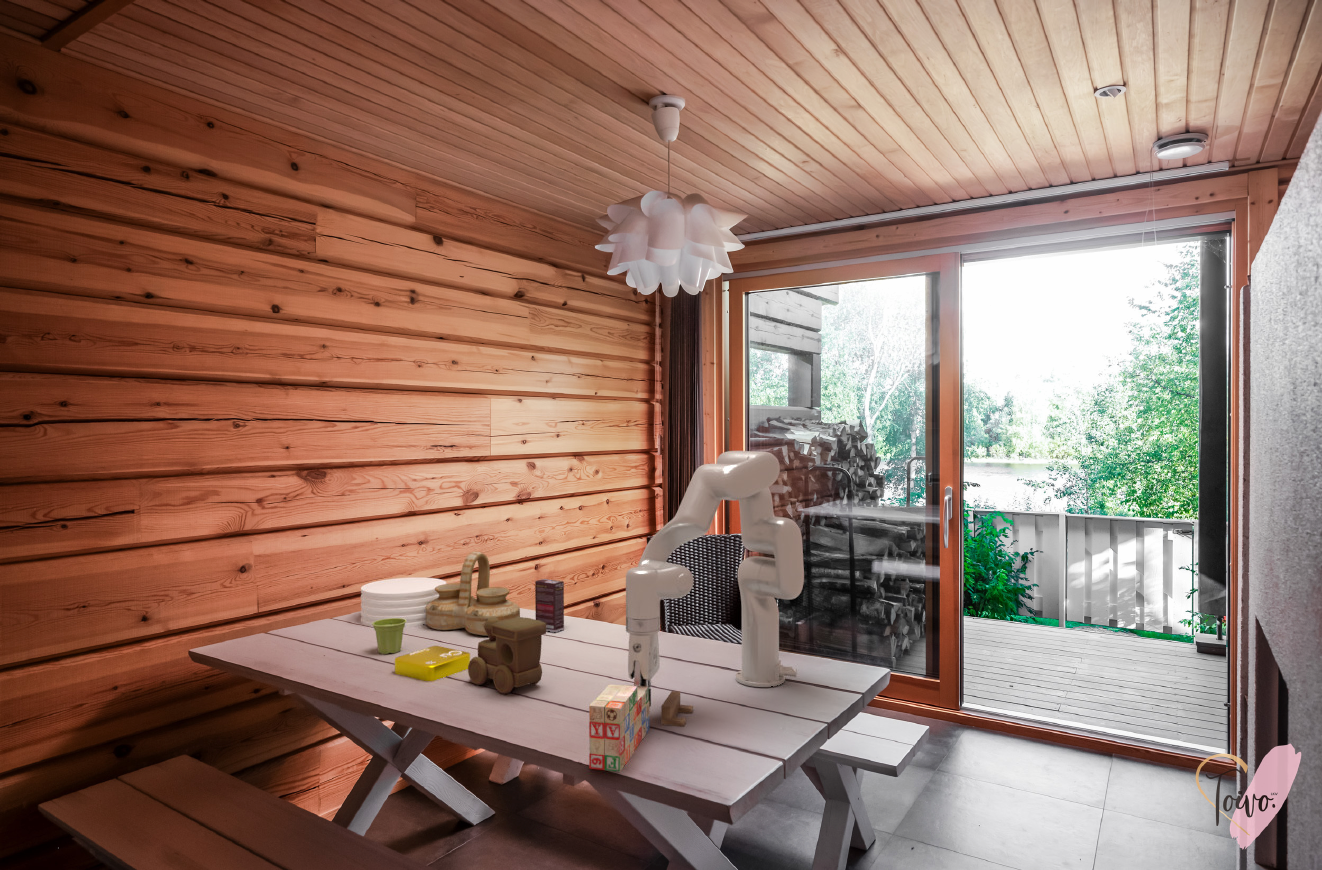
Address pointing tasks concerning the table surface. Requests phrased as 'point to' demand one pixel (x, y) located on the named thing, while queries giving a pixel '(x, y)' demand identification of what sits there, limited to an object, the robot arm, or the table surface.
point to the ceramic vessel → (470, 601)
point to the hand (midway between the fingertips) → (642, 706)
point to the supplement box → (550, 603)
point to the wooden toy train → (509, 653)
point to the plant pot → (389, 634)
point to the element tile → (432, 663)
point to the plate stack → (398, 600)
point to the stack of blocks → (617, 725)
